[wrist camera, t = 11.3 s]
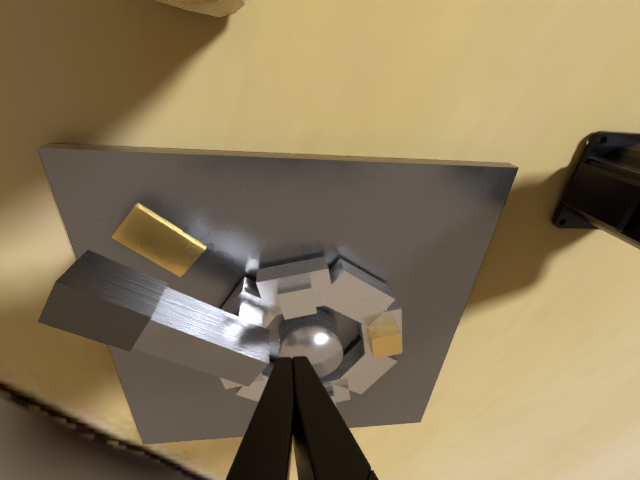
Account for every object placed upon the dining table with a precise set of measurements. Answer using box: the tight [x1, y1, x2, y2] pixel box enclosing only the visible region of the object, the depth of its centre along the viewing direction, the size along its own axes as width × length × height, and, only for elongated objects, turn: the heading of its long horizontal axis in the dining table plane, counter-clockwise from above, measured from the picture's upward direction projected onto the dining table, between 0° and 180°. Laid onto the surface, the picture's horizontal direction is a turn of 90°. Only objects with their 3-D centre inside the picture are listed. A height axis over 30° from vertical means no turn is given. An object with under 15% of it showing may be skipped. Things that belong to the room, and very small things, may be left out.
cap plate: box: [37, 143, 518, 444], centre depth 23 cm, size 26×26×3 cm
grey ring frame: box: [38, 250, 403, 407], centre depth 20 cm, size 21×13×5 cm, turn 53°
